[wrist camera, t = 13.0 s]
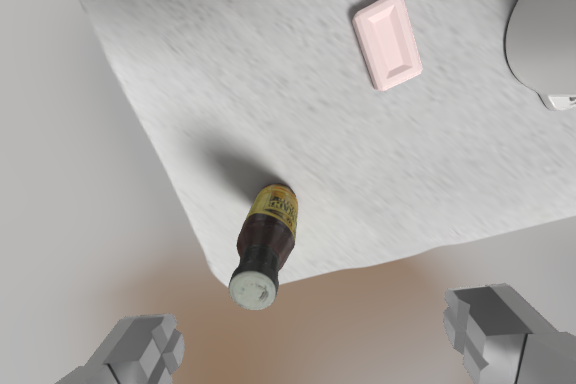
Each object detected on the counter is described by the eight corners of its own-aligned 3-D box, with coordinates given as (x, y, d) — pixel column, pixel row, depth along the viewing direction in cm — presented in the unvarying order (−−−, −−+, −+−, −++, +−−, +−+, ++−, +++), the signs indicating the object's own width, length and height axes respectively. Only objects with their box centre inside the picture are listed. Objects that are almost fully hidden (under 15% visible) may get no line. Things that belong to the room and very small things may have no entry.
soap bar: (375, 92, 35) (380, 93, 33) (350, 18, 32) (353, 13, 30) (416, 72, 34) (425, 72, 32) (394, -6, 31) (402, -13, 29)
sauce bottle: (306, 205, 41) (311, 305, 23) (273, 226, 43) (252, 336, 24) (279, 171, 39) (261, 249, 21) (246, 194, 41) (202, 287, 22)
